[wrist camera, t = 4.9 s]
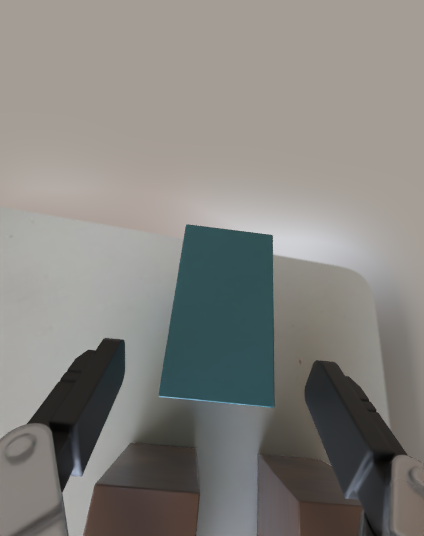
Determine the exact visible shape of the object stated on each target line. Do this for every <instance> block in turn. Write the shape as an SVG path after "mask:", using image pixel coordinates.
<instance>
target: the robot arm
mask: <svg viewBox="0 0 424 536" xmlns="http://www.w3.org/2000/svg"><path fill="white" fill-rule="evenodd" d="M124 373H125V342H124V340H120V339H110V338H104V339H103V340H102V342H101V343H100V345H99V346H98V348H97V349H96V351H95V350H87V351H86V352H84V353H83V354H82V355H80V356H79V357H77V358H76V359H75V360H74V362H73V363H72V365H71V366H70V367H69V369H68V371H67V372H66V373H65V374H64V375H63V377H62V378H61V380H60V382H58V383H57V385H56V386H55V387H54V389H53V390H52V391H51V393H50V394H49V395H48V397H47V398H46V399H45V401H44V402H43V403H42V405H41V406H40V408H39V409H38V410H37V412H36V413H35V414H34V416H33V417H32V418H31V420H30V421H29V422H28V423H27V424H26V425H23V426H20V427H18V428H16V429H14V430H12V431H11V432H9V433H8V434H6V435H5V436H3V437H2V438H1V439H0V536H69V535H68V529H67V522H66V515H65V508H64V502H63V495H62V492H63V490H64V488H65V486H66V483H67V481H68V479H69V477H70V475H71V476H82V474H83V472H84V470H85V468H86V465H87V463H88V461H89V458H90V456H91V454H92V451H93V449H94V447H95V445H96V442H97V440H98V438H99V435H100V433H101V431H102V428H103V426H104V424H105V422H106V419H107V417H108V415H109V412H110V410H111V408H112V406H113V403H114V401H115V399H116V396H117V394H118V392H119V389H120V387H121V385H122V382H123V378H124ZM305 401H306V404H307V406H308V409H309V411H310V414H311V416H312V419H313V421H314V424H315V426H316V428H317V431H318V433H319V436H320V438H321V441H322V443H323V446H324V448H325V451H326V453H327V455H328V458H329V460H330V463H331V465H332V468H333V470H334V473H335V475H336V478H337V480H338V482H339V485H340V487H341V490H342V492H343V495H344V497H345V499H357V500H359V501H360V503H361V505H362V507H363V510H362V511H361V514H360V519H359V527H358V534H357V536H424V463H422V462H420V461H419V460H417V459H415V458H412V457H410V456H408V455H407V454H406V452H405V451H404V449H403V448H402V446H401V445H400V443H399V442H398V441H397V439H396V438H395V436H394V435H393V433H392V432H391V430H390V429H389V428H388V426H387V425H386V423H385V422H384V420H383V419H382V417H381V416H380V415H379V413H377V412H376V409H375V407H374V406H373V405H372V403H371V402H369V399H368V397H367V396H366V394H365V393H364V392H363V390H362V389H361V387H360V386H359V385H357V384H356V383H355V382H354V381H353V380H352V379H351V378H350V377H348V376H345V375H344V374H343V372H342V371H341V369H340V368H339V366H338V365H337V364H336V363H335V362H329V361H319V360H316V361H315V362H314V363H313V366H312V369H311V372H310V375H309V377H308V380H307V383H306V386H305Z"/></svg>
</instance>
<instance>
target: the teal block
mask: <svg viewBox="0 0 424 536" xmlns="http://www.w3.org/2000/svg"><path fill="white" fill-rule="evenodd" d="M159 397H166V398H177V399H187V400H197V401H208V402H218V403H228V404H239V405H249V406H259V407H270V408H274V407H275V401H274V316H273V236H272V235H266V234H258V233H251V232H243V231H235V230H227V229H219V228H210V227H203V226H195V225H186V229H185V234H184V241H183V247H182V253H181V259H180V265H179V272H178V278H177V284H176V290H175V296H174V302H173V309H172V315H171V321H170V327H169V333H168V340H167V346H166V352H165V358H164V364H163V370H162V377H161V383H160V389H159Z"/></svg>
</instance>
